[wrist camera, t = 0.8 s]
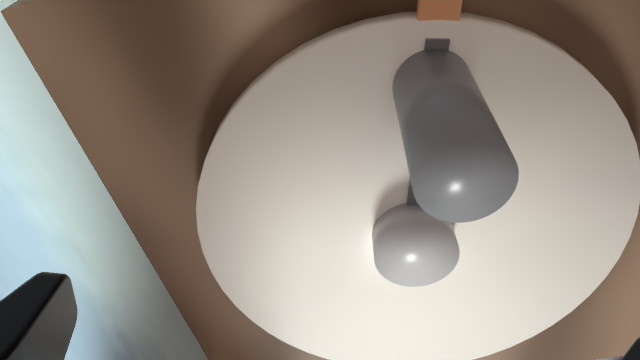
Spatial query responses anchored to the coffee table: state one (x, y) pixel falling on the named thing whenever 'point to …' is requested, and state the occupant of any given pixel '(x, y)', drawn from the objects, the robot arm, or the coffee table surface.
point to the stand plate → (222, 91)
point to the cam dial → (418, 189)
